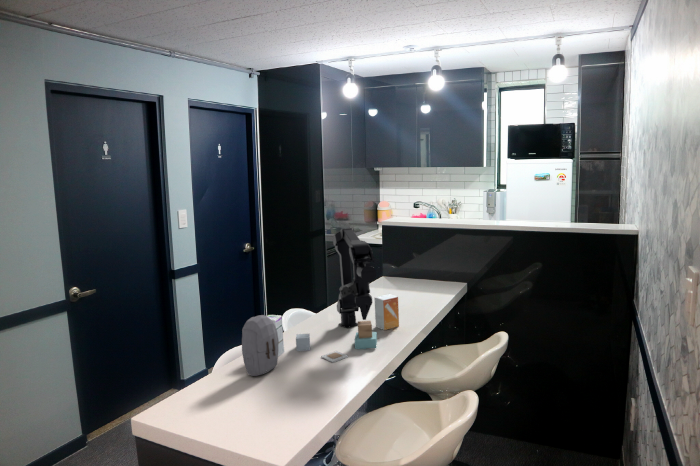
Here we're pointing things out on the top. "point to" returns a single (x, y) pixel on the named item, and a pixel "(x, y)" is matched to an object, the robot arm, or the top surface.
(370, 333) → the walnut cube
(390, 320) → the small box
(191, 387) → the top surface
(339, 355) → the tile
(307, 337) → the grey cube
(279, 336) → the syrup box
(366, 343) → the teal base block
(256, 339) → the soft grey pack
